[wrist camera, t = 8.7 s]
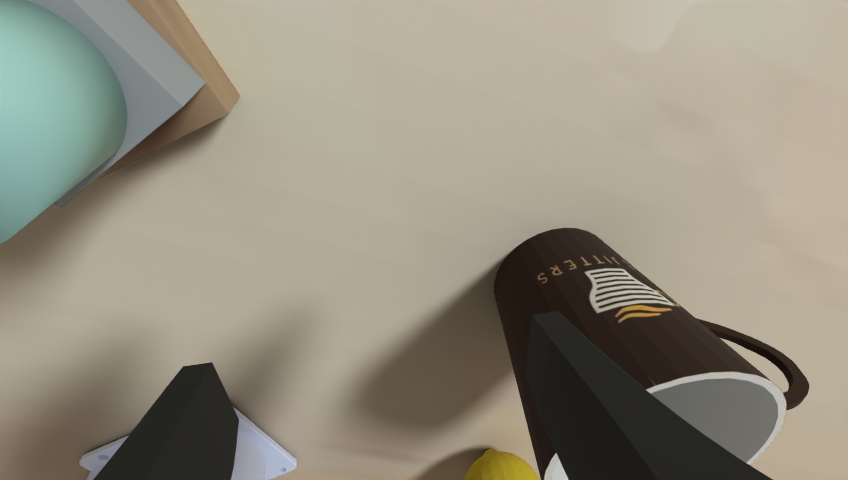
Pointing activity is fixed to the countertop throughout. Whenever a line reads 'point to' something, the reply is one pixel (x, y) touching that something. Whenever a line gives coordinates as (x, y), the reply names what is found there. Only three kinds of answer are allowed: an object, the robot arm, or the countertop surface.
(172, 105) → the grey square slab
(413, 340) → the countertop surface
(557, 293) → the coffee mug
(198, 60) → the walnut block
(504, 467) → the lemon
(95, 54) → the teal cylinder
